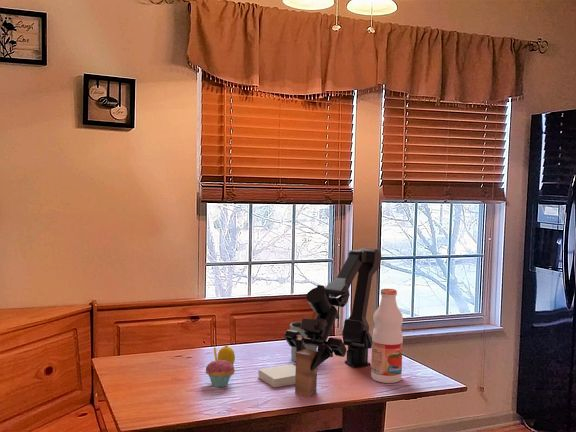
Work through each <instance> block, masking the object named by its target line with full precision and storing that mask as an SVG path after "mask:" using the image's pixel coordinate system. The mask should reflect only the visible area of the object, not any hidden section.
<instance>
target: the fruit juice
mask: <svg viewBox="0 0 576 432" xmlns="http://www.w3.org/2000/svg"><path fill="white" fill-rule="evenodd" d="M380 295H381V299H380V303H379V306H378V307H377V309H375V311H374V313H373V315H372V316H373V319H372V321H373V326H374V327H373V330H372V334H371V337H372V348H371V360H370V361H371V362H370V363H371V365H370V367H371V368H370V376H371V379H372V380H373V381H376V382H378V383H382V384H383V383H384V384H393V383H398V382H400V381H401V380H402V374H403V373H402V371H403V370H402V369H403V368H402V366H403V343H404V342H403V338H404V337H403V335H404V334H403V331H402V326H403V323H404V322H403V320H404V317H403V313H402V312H401V310H400V308H399V307H398V303H397V300H396V297H397V296H398V290H396V289H394V288H382V289H380Z"/></svg>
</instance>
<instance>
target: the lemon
mask: <svg viewBox="0 0 576 432" xmlns="http://www.w3.org/2000/svg"><path fill="white" fill-rule="evenodd" d="M217 360H225V361H226V360H227V361H229V362H230V363H232V364H233V365H234V363H235V360H236V354H235V351H234V349H233V348H232V347H230V346H228V345H225V346H223V347H221V348H220V349H219V351H218V353H217Z"/></svg>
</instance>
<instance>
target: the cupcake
mask: <svg viewBox="0 0 576 432" xmlns="http://www.w3.org/2000/svg"><path fill="white" fill-rule="evenodd" d="M213 355H214V360H212V361H210V362H209V363H207V364H208V365H206V366H205V375H208V377H209V379H210V382H211V386H213V387H217V388H223V387H226V386H228V384H229V381H230V379H231V377H232V375H234V374H235V371H236V369H235V366H234V364H232V363H230V362H229V361H227V360H226V361H225V360H218V353H217V349H216V346H215V345H213Z"/></svg>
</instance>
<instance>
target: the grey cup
mask: <svg viewBox="0 0 576 432" xmlns="http://www.w3.org/2000/svg"><path fill="white" fill-rule="evenodd" d="M301 322H302V320H301V321H293V322H291V323H289V327H290V329H289V330H294V331H299V333H300V334H301V336H303V337H307V335H305V333H304V332H305V330H303V329H300V326H301ZM290 347H291V346H290ZM305 348H306V349H307V350H312V351H318V346H313V345H308V344H306V346H305ZM290 353H291V356H290V357H291V360H292V361H293V362H295V363H296V348H295V347H291V348H290Z"/></svg>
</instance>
